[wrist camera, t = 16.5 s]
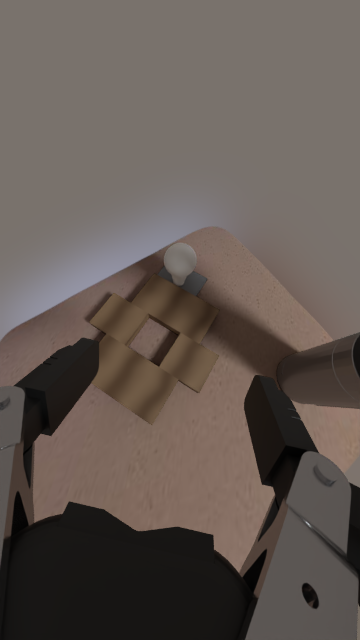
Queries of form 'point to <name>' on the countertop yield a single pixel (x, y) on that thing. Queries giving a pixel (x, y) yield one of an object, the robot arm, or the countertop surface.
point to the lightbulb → (180, 262)
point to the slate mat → (186, 281)
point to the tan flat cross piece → (136, 371)
